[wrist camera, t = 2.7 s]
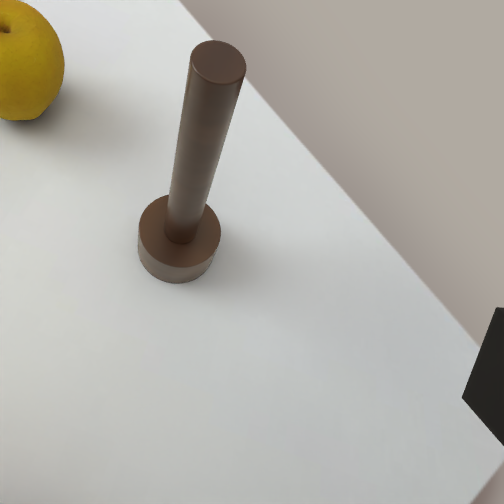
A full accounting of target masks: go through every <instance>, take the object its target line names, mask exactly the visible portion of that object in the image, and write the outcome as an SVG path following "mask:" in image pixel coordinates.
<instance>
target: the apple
mask: <svg viewBox="0 0 504 504" xmlns="http://www.w3.org/2000/svg"><path fill="white" fill-rule="evenodd" d="M63 75H64V56H63V51H62V47H61V44H60V41H59V38H58V36H57V34H56V32H55V31H54V29H53V28H52V26H51V25H50V23H49V22H48V21H47V20H46V19H45V18H44V17H43V15H42V14H40V13H39V12H38V11H37V10H36V9H35V8H33V7H31V6H30V5H28V4H26V3H24V2H21V1H18V0H0V118H3V119H7V120H12V121H16V120H30V119H35V118H37V117H38V116H40V115H41V114H42V113H43V111H44V110H45V109H46V108H47V107H48V106H49V105H50V104H51V103H52V102H53V100H54V99H55V97H56V96H57V94H58V92H59V90H60V87H61V85H62V81H63Z"/></svg>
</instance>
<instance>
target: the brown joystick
mask: <svg viewBox="0 0 504 504" xmlns="http://www.w3.org/2000/svg"><path fill="white" fill-rule="evenodd" d="M245 73H246V63H245V60H244V57H243V56H242V54H241V53H240V52H239V51H238V50H237V49H236V48H235V47H233V46H232V45H230V44H228V43H225V42H222V41H215V40H211V41H205V42H202V43H200V44H199V45H197V46H196V47H195V48H194V49H193V51H192V53H191V56H190V62H189V69H188V75H187V82H186V88H185V95H184V101H183V108H182V114H181V121H180V127H179V134H178V140H177V147H176V153H175V160H174V166H173V173H172V179H171V186H170V192H169V195H165V196H162V197H160V198H158V199H156V200H155V201H153V202H152V203H151V204H150V205H148V207H147V208H146V209H145V210H144V212H143V214H142V216H141V218H140V222H139V234H138V253H139V257H140V260H141V262H142V264H143V266H144V267H145V269H146V270H147V271H148V272H149V273H150V274H152V275H153V276H154V277H156V278H158V279H160V280H162V281H165V282H169V283H185V282H189V281H192V280H194V279H196V278H198V277H199V276H201V275H202V274H203V273H204V272H205V271H206V270H207V268H208V267H209V265H210V263H211V261H212V259H213V256H214V254H215V252H216V249H217V247H218V244H219V241H220V236H221V229H220V224H219V221H218V218H217V216H216V214H215V213H214V211H213V210H212V209H211V208H210V207H209V206H208V205H207V204H206V201H207V197H208V194H209V191H210V188H211V184H212V181H213V178H214V174H215V171H216V168H217V165H218V161H219V158H220V155H221V152H222V148H223V145H224V142H225V138H226V135H227V132H228V129H229V125H230V122H231V119H232V115H233V112H234V109H235V106H236V102H237V99H238V96H239V92H240V89H241V86H242V83H243V79H244V76H245Z"/></svg>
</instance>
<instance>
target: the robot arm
mask: <svg viewBox="0 0 504 504" xmlns="http://www.w3.org/2000/svg"><path fill="white" fill-rule="evenodd" d="M462 399H463V400H464V401H465V402H466V403H467V404H468V406H469V407H470V408H471V409H472V410H473V411H474V412H475V414H476V415H477V416H478V417H479V418H480V419H481V421H482V422H483V423H484V424H485V425H486V426H487V427H488V429H489V430H490V431H491V432H492V433H493V434H494V435H495V437H496V438H497V439H498V440H499V441H500V442H501V443H502V445H503V446H504V308H499V307H497V308H496V309H495V312H494V314H493V317H492V320H491V322H490V325H489V328H488V330H487V333H486V336H485V338H484V341H483V343H482V346H481V348H480V351H479V354H478V356H477V359H476V361H475V364H474V367H473V369H472V372H471V375H470V377H469V380H468V382H467V385H466V388H465V390H464V393H463V395H462Z"/></svg>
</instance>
